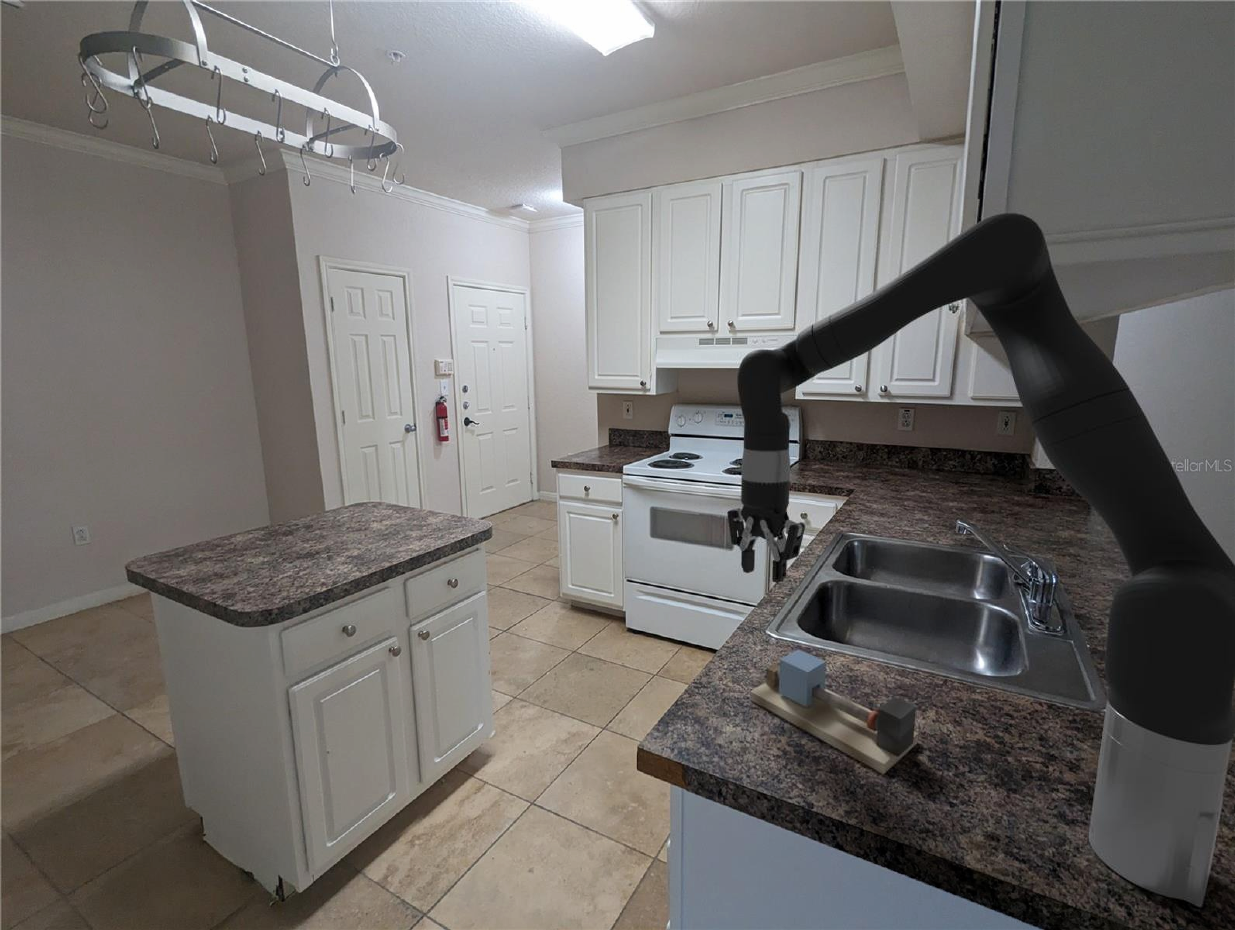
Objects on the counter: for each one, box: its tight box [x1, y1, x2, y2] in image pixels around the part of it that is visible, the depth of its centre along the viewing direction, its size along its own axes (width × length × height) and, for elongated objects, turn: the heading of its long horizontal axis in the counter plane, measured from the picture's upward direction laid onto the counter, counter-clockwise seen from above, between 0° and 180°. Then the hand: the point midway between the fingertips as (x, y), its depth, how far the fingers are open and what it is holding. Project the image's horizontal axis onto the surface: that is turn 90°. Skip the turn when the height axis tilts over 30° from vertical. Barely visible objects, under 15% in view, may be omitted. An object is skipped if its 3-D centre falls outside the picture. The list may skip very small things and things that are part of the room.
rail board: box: [749, 663, 920, 775], centre depth 84 cm, size 22×10×7 cm, turn 38°
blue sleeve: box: [779, 648, 827, 707], centre depth 87 cm, size 5×5×6 cm
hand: (762, 576), depth 91 cm, fingers open, 5 cm apart
